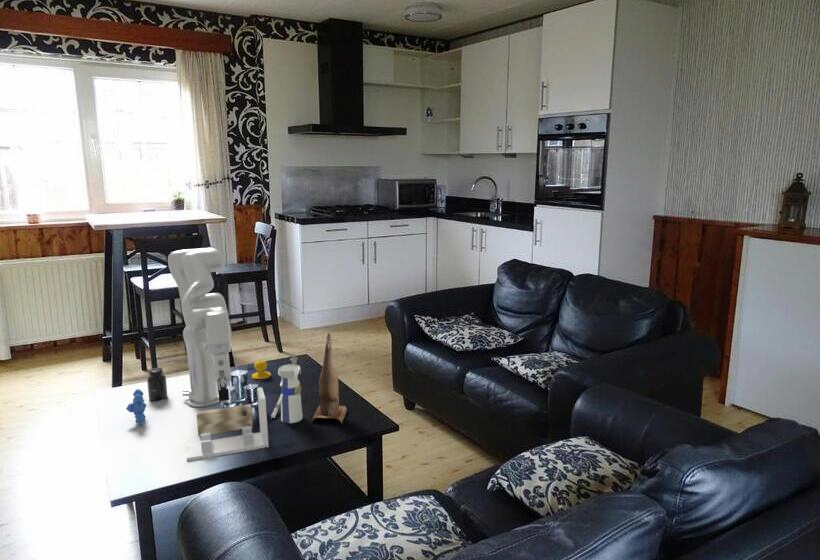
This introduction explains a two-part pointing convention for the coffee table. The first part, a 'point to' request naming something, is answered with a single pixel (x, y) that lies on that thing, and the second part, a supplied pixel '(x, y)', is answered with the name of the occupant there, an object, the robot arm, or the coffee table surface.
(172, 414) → the coffee table surface
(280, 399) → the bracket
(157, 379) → the supplement bottle
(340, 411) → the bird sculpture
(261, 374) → the doorknob
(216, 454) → the hinge base
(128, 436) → the coffee table surface
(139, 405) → the grapes
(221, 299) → the robot arm
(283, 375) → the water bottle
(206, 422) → the door
